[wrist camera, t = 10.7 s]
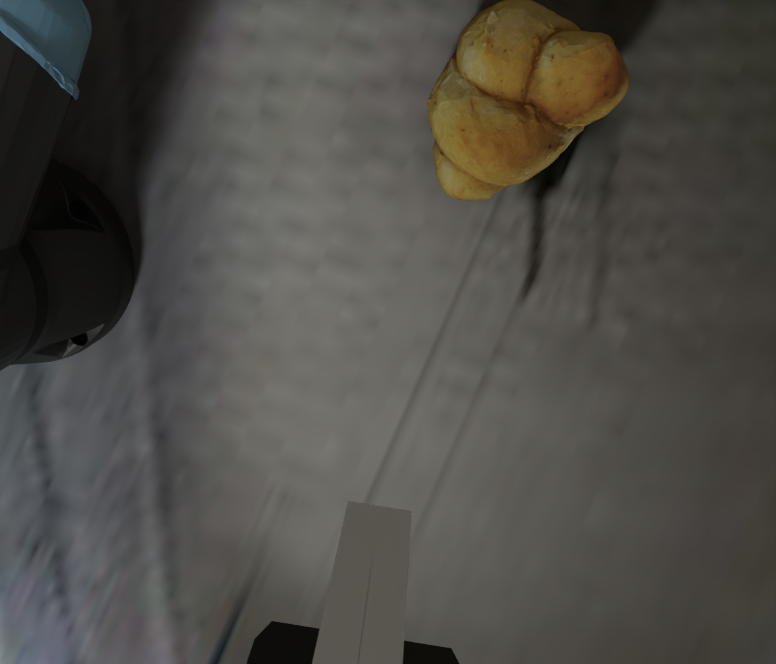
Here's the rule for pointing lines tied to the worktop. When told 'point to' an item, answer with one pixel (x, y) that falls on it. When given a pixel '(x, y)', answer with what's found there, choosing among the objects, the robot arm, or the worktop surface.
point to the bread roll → (518, 96)
